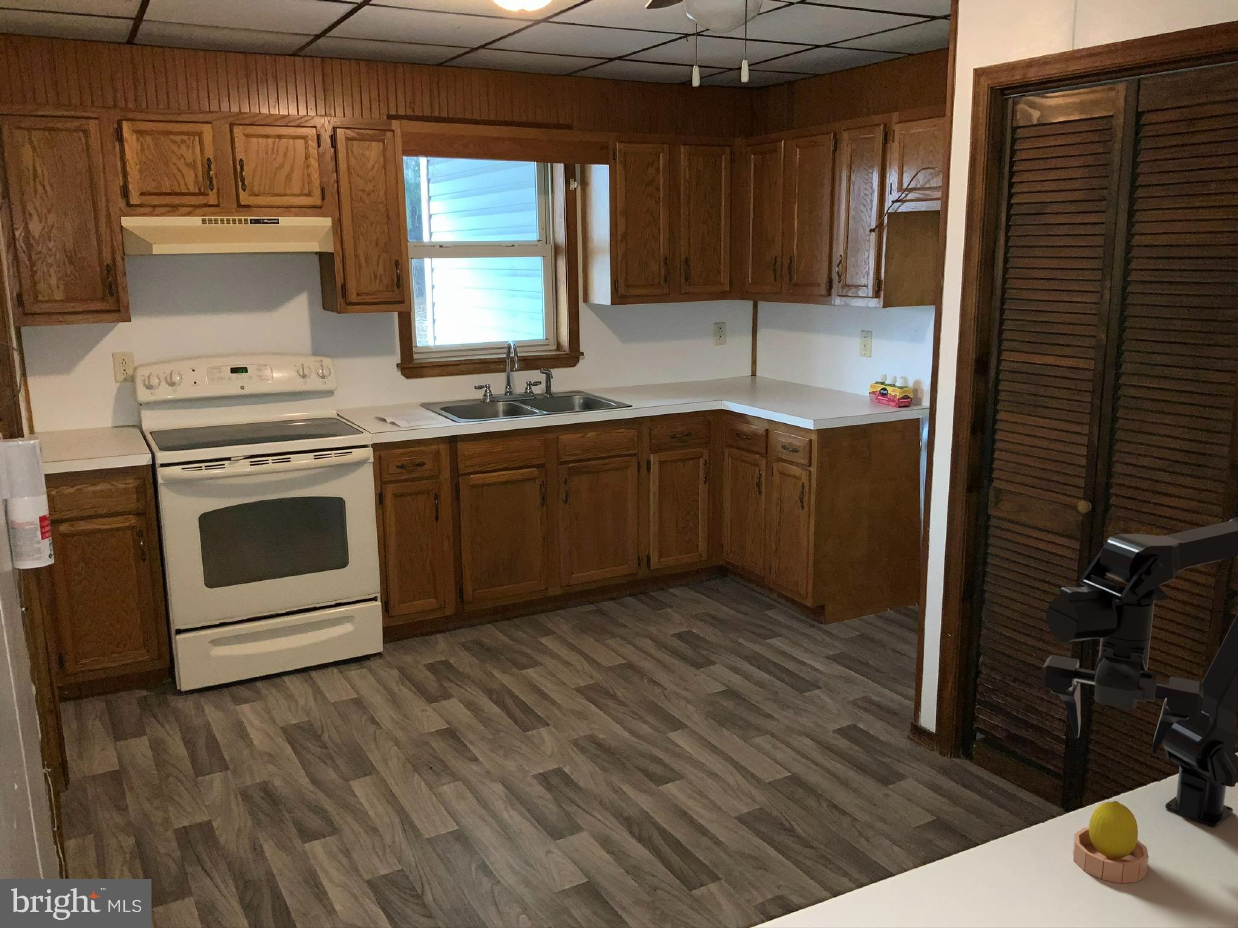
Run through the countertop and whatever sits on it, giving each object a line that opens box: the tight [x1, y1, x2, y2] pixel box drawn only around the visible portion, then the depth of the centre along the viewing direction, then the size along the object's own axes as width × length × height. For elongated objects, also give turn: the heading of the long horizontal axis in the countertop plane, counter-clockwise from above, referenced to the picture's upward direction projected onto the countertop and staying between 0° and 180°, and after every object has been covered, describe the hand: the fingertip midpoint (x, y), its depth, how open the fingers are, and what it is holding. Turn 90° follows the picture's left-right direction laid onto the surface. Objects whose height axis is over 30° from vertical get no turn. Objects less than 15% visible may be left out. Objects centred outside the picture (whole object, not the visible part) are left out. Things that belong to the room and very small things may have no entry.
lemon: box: [1088, 800, 1139, 860], centre depth 126 cm, size 6×6×8 cm
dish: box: [1072, 827, 1149, 884], centre depth 127 cm, size 8×8×2 cm
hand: (1114, 744), depth 133 cm, fingers open, 9 cm apart
